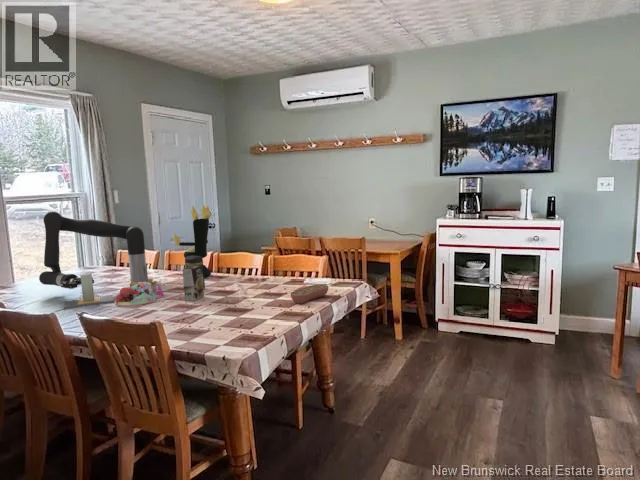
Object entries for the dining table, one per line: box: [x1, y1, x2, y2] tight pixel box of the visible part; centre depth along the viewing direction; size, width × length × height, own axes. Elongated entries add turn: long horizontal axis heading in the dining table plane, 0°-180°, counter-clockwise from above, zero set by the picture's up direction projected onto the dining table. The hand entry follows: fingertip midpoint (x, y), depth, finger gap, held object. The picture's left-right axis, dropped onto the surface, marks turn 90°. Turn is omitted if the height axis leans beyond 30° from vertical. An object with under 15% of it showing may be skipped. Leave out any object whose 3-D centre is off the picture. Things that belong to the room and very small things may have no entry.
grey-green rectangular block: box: [79, 273, 95, 302], centre depth 225 cm, size 5×5×13 cm
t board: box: [62, 292, 115, 310], centre depth 230 cm, size 22×23×1 cm
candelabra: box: [173, 203, 212, 279], centre depth 274 cm, size 19×22×45 cm
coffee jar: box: [184, 255, 206, 289], centre depth 244 cm, size 10×8×19 cm
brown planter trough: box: [290, 284, 329, 305], centre depth 215 cm, size 23×10×5 cm, turn 141°
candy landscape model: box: [114, 278, 164, 307], centre depth 229 cm, size 25×24×9 cm
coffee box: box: [182, 266, 205, 302], centre depth 224 cm, size 9×6×16 cm
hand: (85, 283), depth 225 cm, fingers open, 8 cm apart
